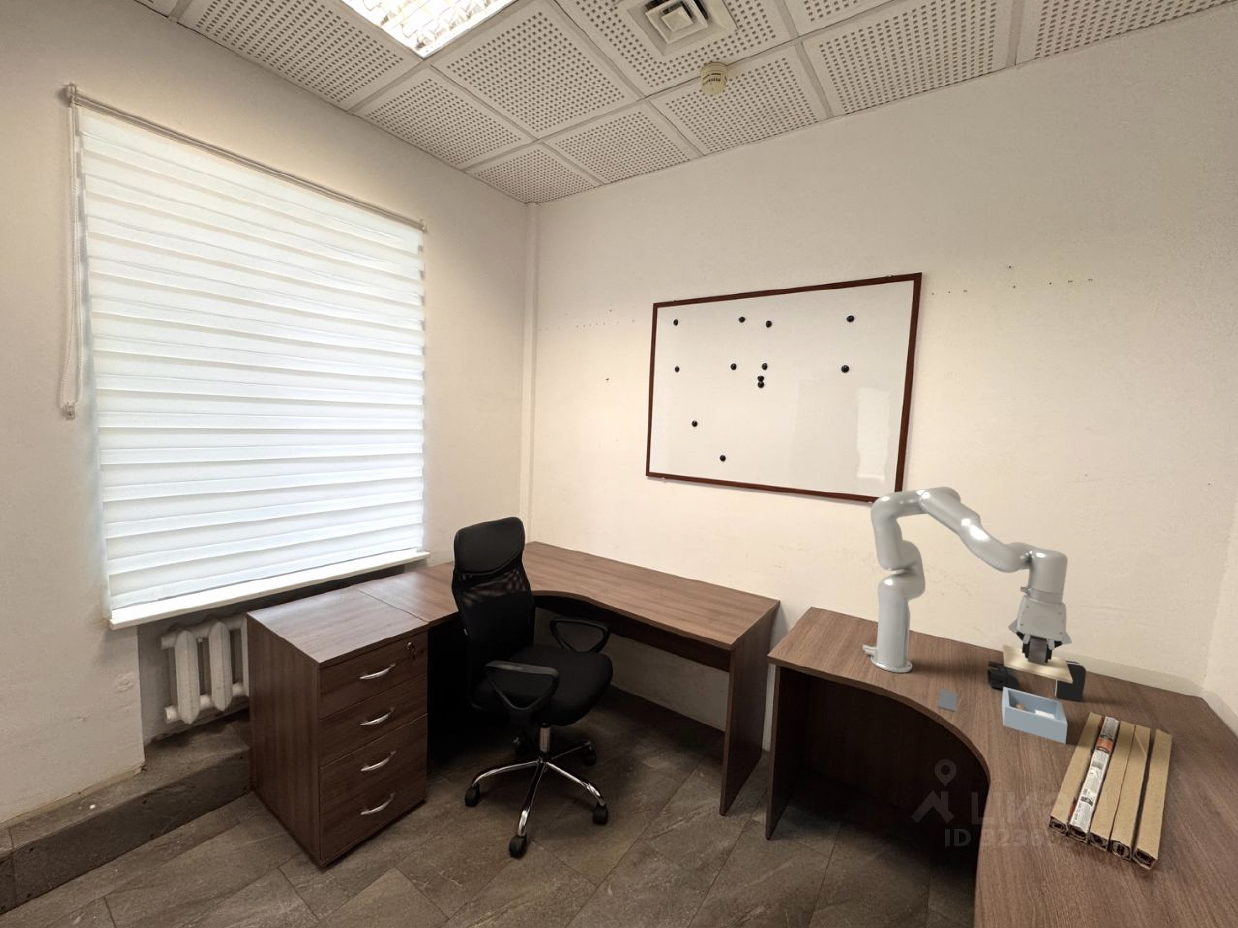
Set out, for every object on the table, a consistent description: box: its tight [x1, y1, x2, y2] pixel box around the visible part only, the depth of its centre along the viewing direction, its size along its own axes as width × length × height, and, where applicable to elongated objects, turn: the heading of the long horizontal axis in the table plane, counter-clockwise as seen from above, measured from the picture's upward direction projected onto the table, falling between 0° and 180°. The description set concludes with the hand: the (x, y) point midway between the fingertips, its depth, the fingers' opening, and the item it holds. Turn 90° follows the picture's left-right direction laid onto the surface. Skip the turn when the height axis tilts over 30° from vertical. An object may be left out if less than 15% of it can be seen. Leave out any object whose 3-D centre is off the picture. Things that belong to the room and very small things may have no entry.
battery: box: [1053, 660, 1087, 702], centre depth 156 cm, size 7×4×11 cm, turn 73°
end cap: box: [986, 661, 1021, 691], centre depth 161 cm, size 10×7×7 cm
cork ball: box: [1014, 705, 1027, 711], centre depth 145 cm, size 3×3×3 cm
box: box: [1001, 687, 1068, 745], centre depth 141 cm, size 13×13×6 cm
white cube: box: [1035, 710, 1055, 719], centre depth 138 cm, size 4×4×4 cm
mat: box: [937, 687, 958, 713], centre depth 151 cm, size 10×12×1 cm
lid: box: [1002, 635, 1073, 683], centre depth 140 cm, size 14×14×9 cm
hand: (1035, 657), depth 140 cm, fingers closed on lid, 3 cm apart
